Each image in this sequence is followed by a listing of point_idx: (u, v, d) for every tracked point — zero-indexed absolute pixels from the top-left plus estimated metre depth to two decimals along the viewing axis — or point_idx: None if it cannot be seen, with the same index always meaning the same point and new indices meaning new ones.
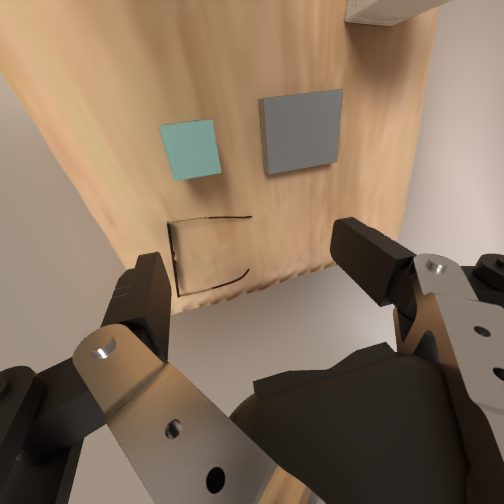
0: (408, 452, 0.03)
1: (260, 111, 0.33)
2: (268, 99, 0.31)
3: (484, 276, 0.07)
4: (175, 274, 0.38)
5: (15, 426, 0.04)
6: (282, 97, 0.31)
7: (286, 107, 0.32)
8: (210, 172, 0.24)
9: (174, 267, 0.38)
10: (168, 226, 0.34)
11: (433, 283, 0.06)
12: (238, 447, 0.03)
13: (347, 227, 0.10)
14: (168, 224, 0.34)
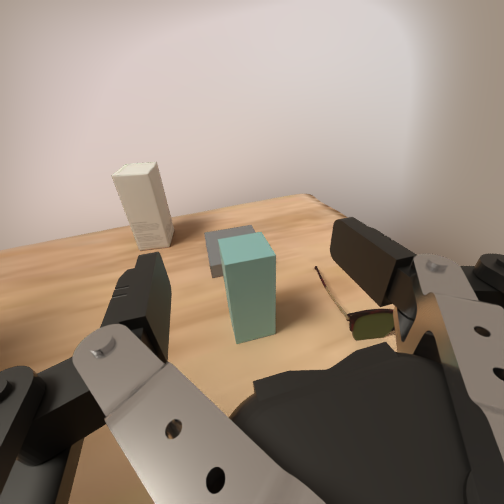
0: (408, 452, 0.03)
1: (220, 273, 0.38)
2: (210, 263, 0.38)
3: (484, 276, 0.07)
4: None
5: (13, 427, 0.04)
6: (209, 257, 0.39)
7: (216, 254, 0.40)
8: (262, 237, 0.25)
9: None
10: (351, 314, 0.25)
11: (433, 283, 0.06)
12: (237, 448, 0.03)
13: (347, 227, 0.10)
14: (348, 315, 0.25)
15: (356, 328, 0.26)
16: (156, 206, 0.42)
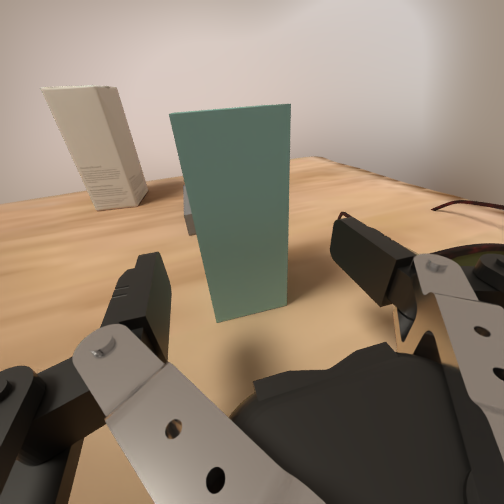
0: (408, 452, 0.03)
1: None
2: (185, 212, 0.25)
3: (484, 276, 0.07)
4: None
5: (15, 426, 0.04)
6: (185, 206, 0.27)
7: None
8: None
9: None
10: None
11: (433, 283, 0.06)
12: (237, 448, 0.03)
13: (347, 227, 0.10)
14: None
15: None
16: (112, 141, 0.30)
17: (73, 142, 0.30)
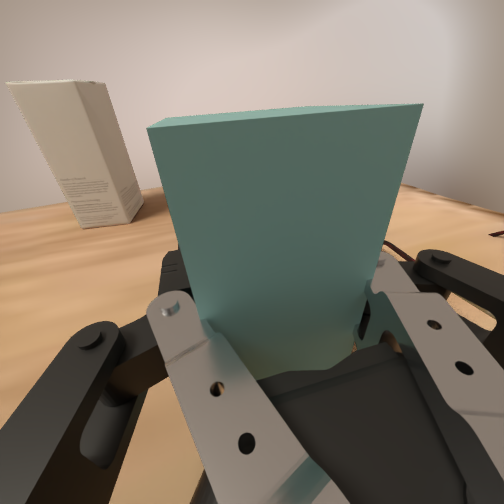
0: (408, 452, 0.03)
1: None
2: None
3: (425, 273, 0.07)
4: None
5: (101, 372, 0.05)
6: None
7: None
8: (315, 107, 0.07)
9: None
10: None
11: None
12: (270, 424, 0.03)
13: None
14: None
15: None
16: (98, 149, 0.25)
17: (50, 149, 0.24)
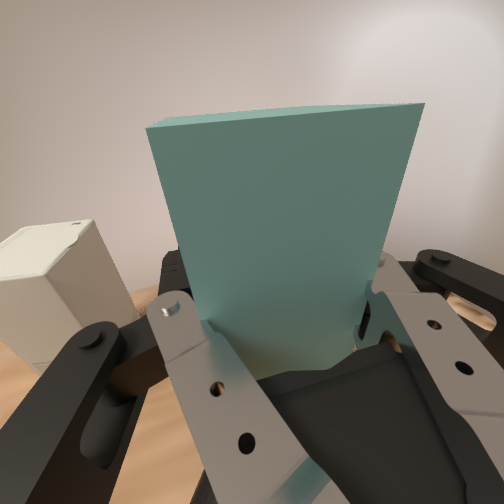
0: (408, 452, 0.03)
1: None
2: None
3: (425, 273, 0.07)
4: None
5: (101, 372, 0.05)
6: None
7: None
8: (315, 107, 0.07)
9: None
10: None
11: None
12: (270, 424, 0.03)
13: None
14: None
15: None
16: None
17: (15, 340, 0.17)
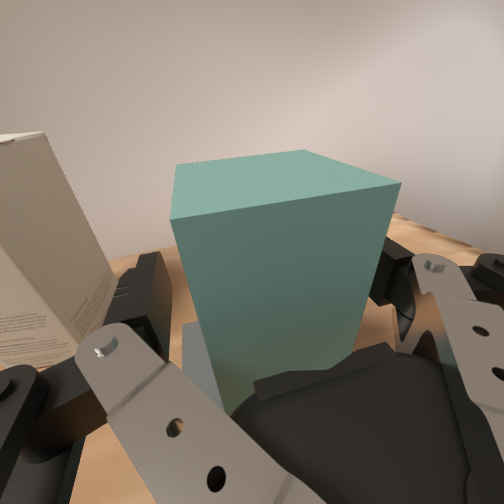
0: (408, 452, 0.03)
1: None
2: None
3: (482, 276, 0.07)
4: None
5: (17, 424, 0.04)
6: None
7: None
8: (311, 155, 0.08)
9: None
10: None
11: (431, 282, 0.06)
12: (238, 447, 0.03)
13: None
14: None
15: None
16: (16, 270, 0.13)
17: None
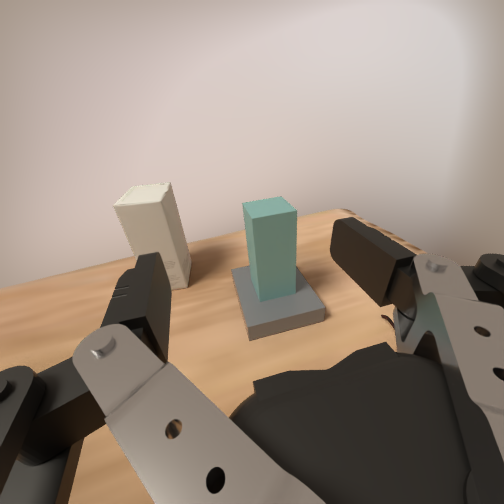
0: (408, 452, 0.03)
1: (260, 334, 0.28)
2: (247, 322, 0.27)
3: (484, 276, 0.07)
4: None
5: (15, 426, 0.04)
6: (244, 310, 0.29)
7: (252, 305, 0.30)
8: (282, 199, 0.28)
9: None
10: None
11: (433, 283, 0.06)
12: (238, 449, 0.03)
13: (347, 227, 0.10)
14: None
15: None
16: (171, 240, 0.33)
17: (136, 243, 0.32)
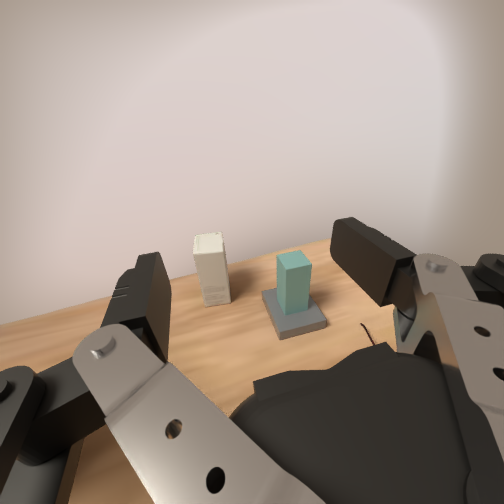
0: (408, 452, 0.03)
1: (286, 336, 0.45)
2: (279, 329, 0.44)
3: (484, 276, 0.07)
4: None
5: (15, 426, 0.04)
6: (275, 321, 0.46)
7: (280, 318, 0.47)
8: (301, 253, 0.45)
9: None
10: None
11: (433, 283, 0.06)
12: (238, 447, 0.03)
13: (347, 227, 0.10)
14: None
15: None
16: (225, 274, 0.49)
17: (203, 276, 0.49)
